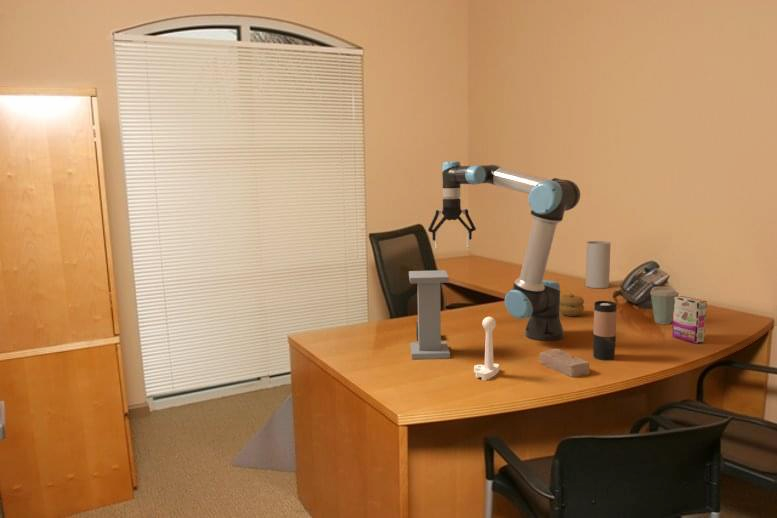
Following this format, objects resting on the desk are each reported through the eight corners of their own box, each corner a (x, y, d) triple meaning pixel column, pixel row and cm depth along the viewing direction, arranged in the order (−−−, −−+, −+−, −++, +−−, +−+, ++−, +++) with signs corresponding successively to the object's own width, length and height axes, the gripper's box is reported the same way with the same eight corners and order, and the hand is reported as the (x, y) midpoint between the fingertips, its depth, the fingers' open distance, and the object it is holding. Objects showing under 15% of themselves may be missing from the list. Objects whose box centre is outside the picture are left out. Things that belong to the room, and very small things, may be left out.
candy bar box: (705, 342, 226) (707, 300, 224) (695, 344, 224) (698, 302, 222) (680, 335, 236) (682, 295, 234) (671, 336, 234) (673, 296, 232)
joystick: (488, 381, 192) (488, 321, 189) (467, 376, 196) (466, 318, 193) (501, 370, 201) (502, 314, 198) (481, 367, 205) (481, 311, 202)
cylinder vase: (589, 283, 340) (590, 240, 336) (611, 285, 332) (613, 241, 328) (582, 287, 330) (583, 243, 326) (605, 289, 322) (606, 244, 318)
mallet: (414, 325, 260) (414, 312, 259) (432, 325, 260) (432, 312, 259) (417, 341, 238) (416, 326, 237) (436, 340, 238) (436, 326, 237)
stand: (410, 346, 231) (408, 271, 226) (446, 345, 231) (445, 270, 226) (411, 359, 215) (410, 278, 211) (450, 358, 215) (449, 277, 211)
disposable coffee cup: (678, 326, 249) (680, 291, 247) (651, 325, 251) (653, 290, 249) (672, 319, 260) (673, 286, 257) (645, 318, 262) (647, 285, 259)
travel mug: (614, 354, 215) (616, 301, 212) (615, 361, 208) (617, 306, 204) (592, 353, 217) (594, 300, 214) (592, 359, 210) (594, 305, 207)
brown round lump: (580, 311, 277) (581, 291, 275) (586, 318, 265) (587, 296, 264) (555, 311, 278) (555, 291, 276) (560, 318, 267) (560, 296, 265)
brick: (591, 374, 197) (591, 360, 196) (571, 378, 193) (572, 364, 192) (556, 360, 211) (557, 347, 211) (538, 364, 208) (538, 351, 207)
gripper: (479, 196, 254) (479, 245, 257) (421, 198, 254) (422, 247, 257) (482, 197, 246) (482, 248, 250) (422, 199, 246) (423, 249, 250)
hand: (452, 247), depth 253 cm, fingers open, 13 cm apart
